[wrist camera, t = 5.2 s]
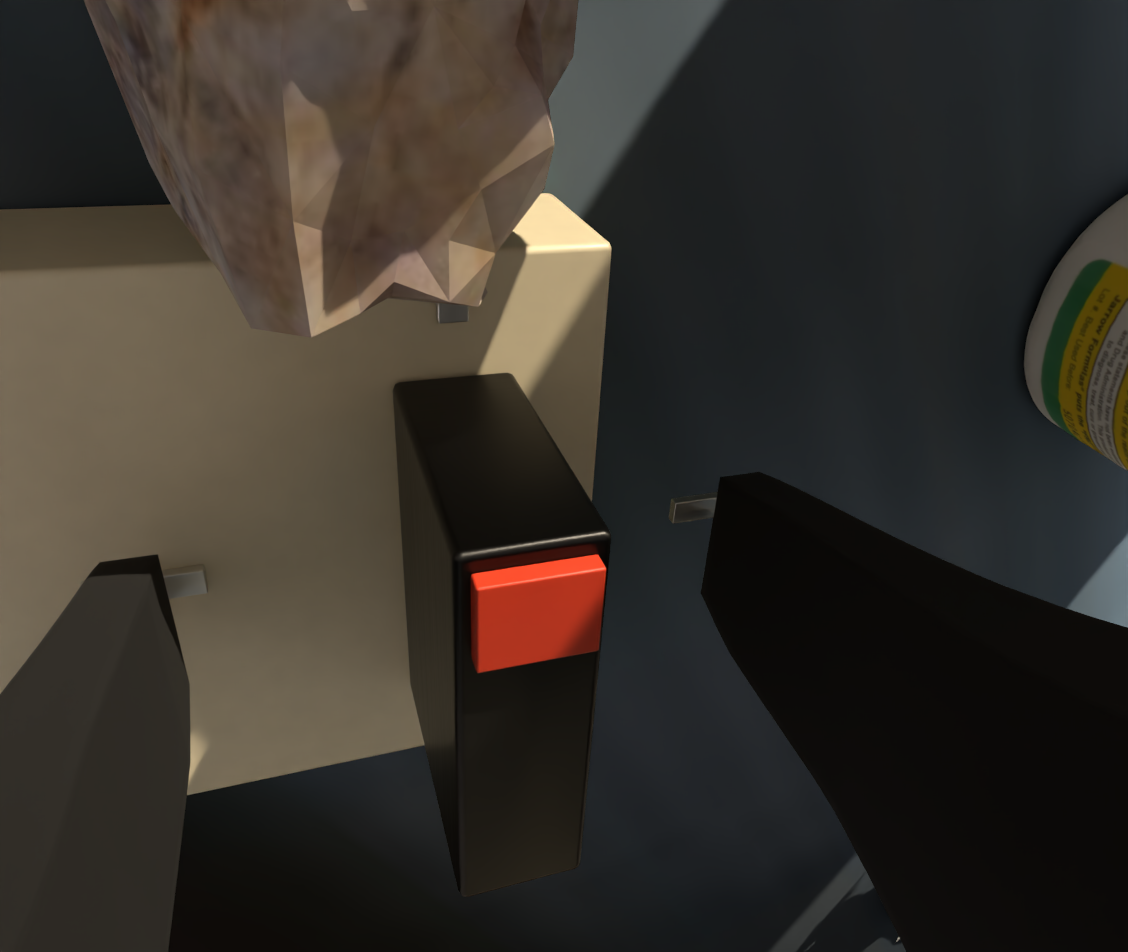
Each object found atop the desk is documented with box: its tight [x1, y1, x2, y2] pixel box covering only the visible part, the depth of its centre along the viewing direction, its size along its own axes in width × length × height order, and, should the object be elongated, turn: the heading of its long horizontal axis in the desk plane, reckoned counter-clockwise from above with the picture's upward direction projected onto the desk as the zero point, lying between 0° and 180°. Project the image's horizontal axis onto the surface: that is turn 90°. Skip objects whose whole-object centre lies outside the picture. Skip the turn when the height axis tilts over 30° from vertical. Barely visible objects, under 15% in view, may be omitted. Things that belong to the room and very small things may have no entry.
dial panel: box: [0, 193, 718, 795], centre depth 12 cm, size 13×9×3 cm
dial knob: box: [393, 373, 611, 897], centre depth 10 cm, size 5×2×4 cm, turn 177°
